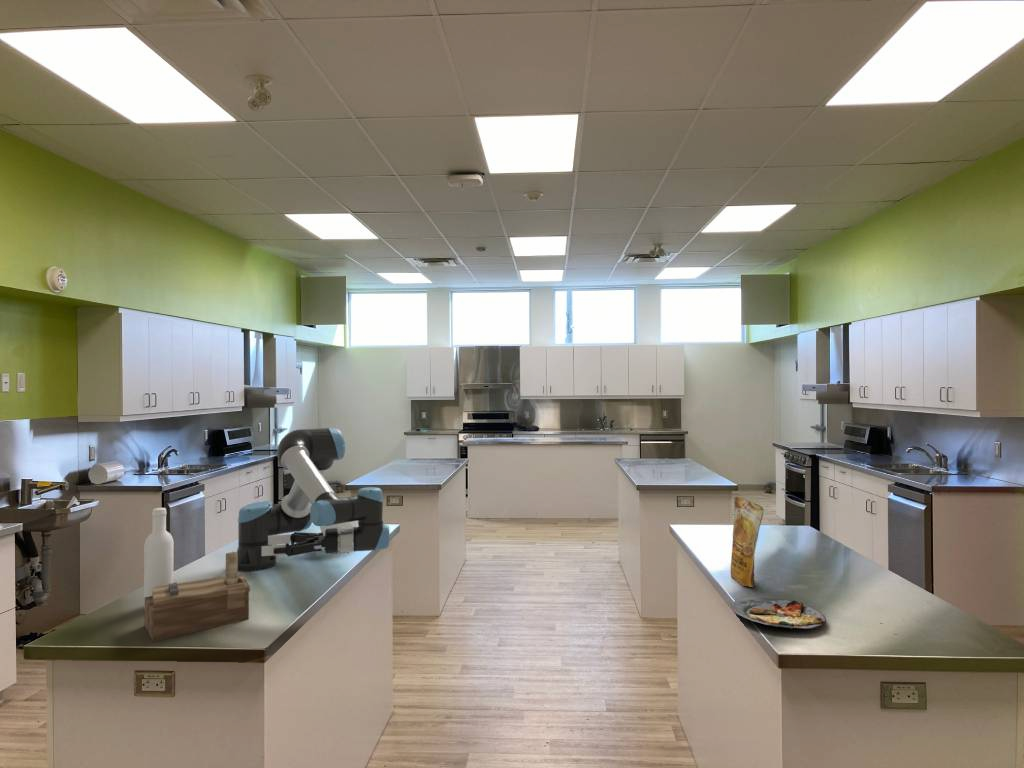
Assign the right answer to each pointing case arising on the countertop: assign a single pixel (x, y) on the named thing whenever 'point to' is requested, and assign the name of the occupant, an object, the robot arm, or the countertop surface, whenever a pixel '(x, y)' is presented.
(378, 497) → the robot arm
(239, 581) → the toolbox lid
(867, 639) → the countertop surface
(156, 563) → the bottle
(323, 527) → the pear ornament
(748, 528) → the pancake mix bag
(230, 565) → the pin
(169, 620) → the toolbox
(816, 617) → the food plate
